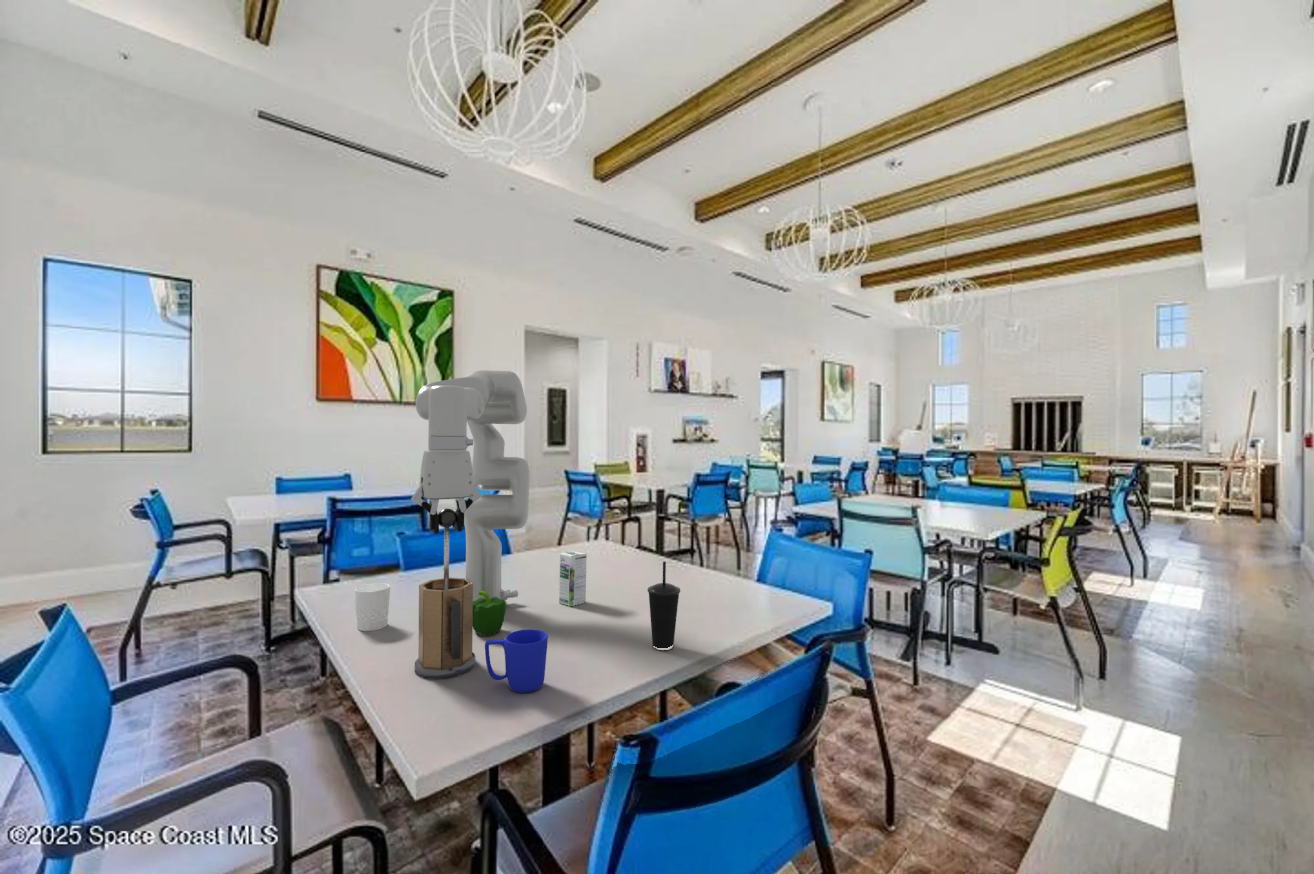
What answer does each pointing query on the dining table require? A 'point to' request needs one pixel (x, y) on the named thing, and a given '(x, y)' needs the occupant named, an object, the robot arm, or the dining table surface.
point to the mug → (522, 659)
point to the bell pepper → (488, 614)
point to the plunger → (446, 539)
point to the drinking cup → (663, 612)
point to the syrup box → (572, 578)
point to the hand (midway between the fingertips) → (446, 530)
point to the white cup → (372, 606)
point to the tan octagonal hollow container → (445, 629)
